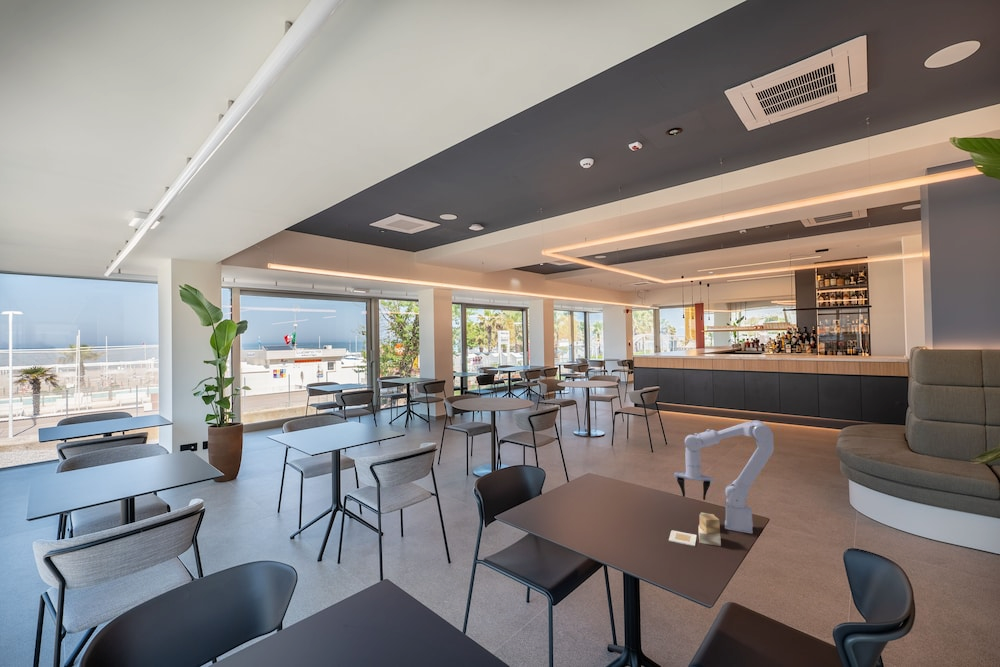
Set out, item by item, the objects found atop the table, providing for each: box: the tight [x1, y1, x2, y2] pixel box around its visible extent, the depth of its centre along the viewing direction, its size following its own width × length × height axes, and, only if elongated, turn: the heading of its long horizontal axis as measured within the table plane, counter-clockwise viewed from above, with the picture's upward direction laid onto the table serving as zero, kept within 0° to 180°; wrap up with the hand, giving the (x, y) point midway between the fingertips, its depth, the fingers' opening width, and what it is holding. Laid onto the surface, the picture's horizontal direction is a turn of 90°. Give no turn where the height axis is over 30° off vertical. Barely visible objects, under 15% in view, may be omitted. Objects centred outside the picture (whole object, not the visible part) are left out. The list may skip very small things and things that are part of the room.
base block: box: [697, 524, 722, 547], centre depth 155 cm, size 7×7×4 cm
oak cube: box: [698, 513, 721, 534], centre depth 155 cm, size 5×5×5 cm
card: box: [668, 530, 697, 547], centre depth 156 cm, size 9×9×1 cm
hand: (694, 497), depth 171 cm, fingers open, 7 cm apart
